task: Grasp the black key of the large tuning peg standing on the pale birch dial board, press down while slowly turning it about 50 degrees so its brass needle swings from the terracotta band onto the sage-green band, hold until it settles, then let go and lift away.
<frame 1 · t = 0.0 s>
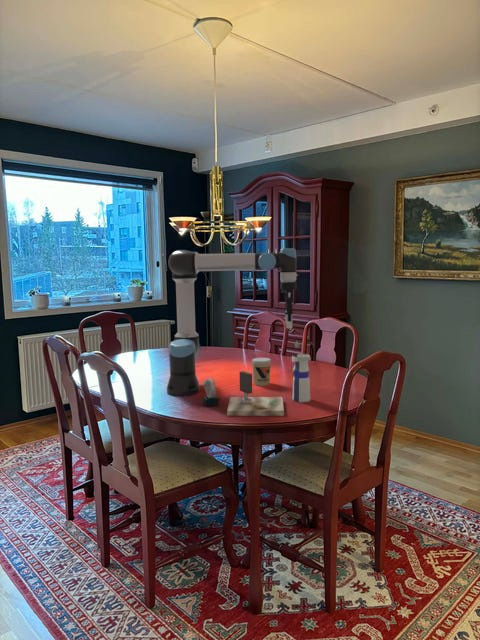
hand: (288, 326, 230), 28 cm above the table, tool pointing down, fingers open, 13 cm apart
coffee cup: (261, 384, 234), on the table
dial board: (255, 408, 197), on the table
water bottle: (300, 400, 208), on the table
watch: (210, 405, 203), on the table
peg: (252, 389, 193), point 8 cm above the table, hinge at 0.0°
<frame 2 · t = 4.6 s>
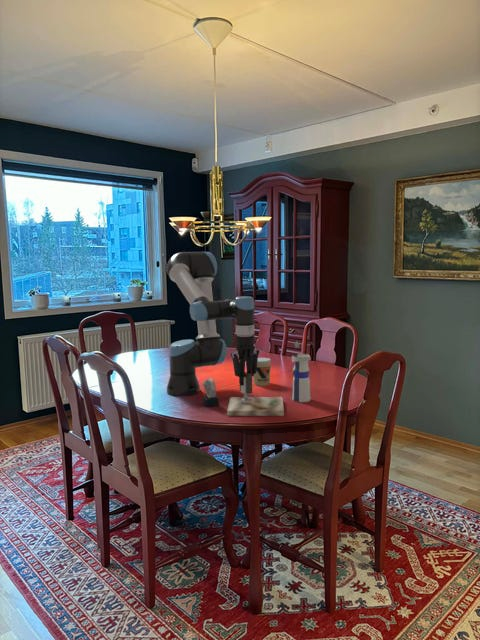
hand: (246, 392, 197), 7 cm above the table, tool pointing down, fingers closed on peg, 2 cm apart
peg: (252, 389, 193), point 8 cm above the table, hinge at 0.0°, touching gripper
everything else where it was.
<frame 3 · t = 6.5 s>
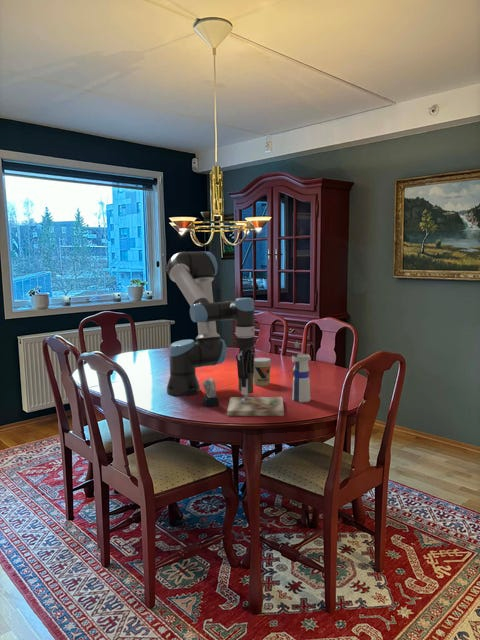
hand: (246, 393, 197), 6 cm above the table, tool pointing down, fingers closed on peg, 2 cm apart
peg: (254, 389, 194), point 8 cm above the table, hinge at 15.0°, touching gripper
everything else where it was.
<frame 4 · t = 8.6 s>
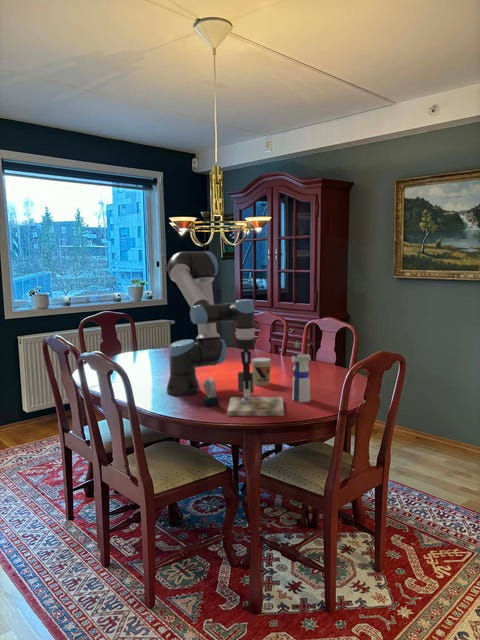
hand: (247, 394, 197), 5 cm above the table, tool pointing down, fingers closed on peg, 3 cm apart
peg: (255, 388, 195), point 8 cm above the table, hinge at 32.4°, touching gripper
everything else where it was.
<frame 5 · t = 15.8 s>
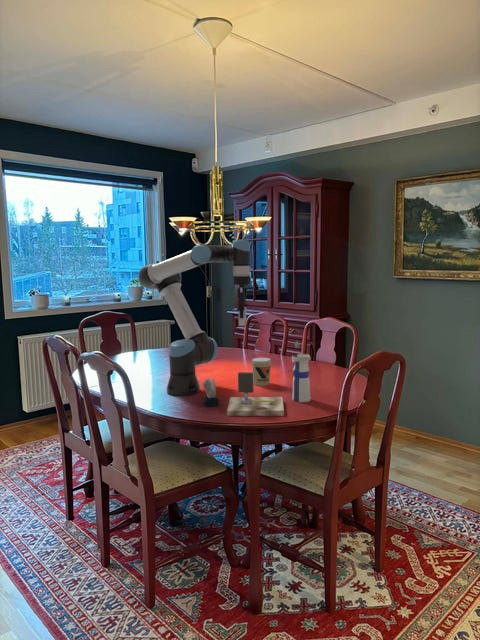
hand: (242, 323, 216), 32 cm above the table, tool pointing down, fingers open, 13 cm apart
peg: (256, 388, 196), point 8 cm above the table, hinge at 43.8°
everything else where it was.
at the end: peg at +44° (first picture: +0°); the gripper is holding nothing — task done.
